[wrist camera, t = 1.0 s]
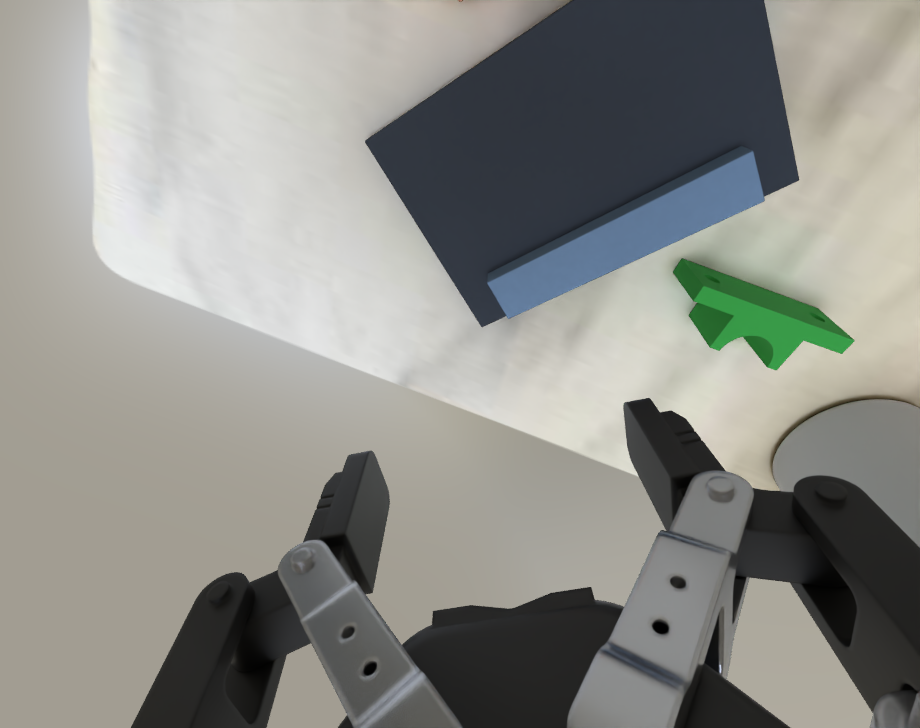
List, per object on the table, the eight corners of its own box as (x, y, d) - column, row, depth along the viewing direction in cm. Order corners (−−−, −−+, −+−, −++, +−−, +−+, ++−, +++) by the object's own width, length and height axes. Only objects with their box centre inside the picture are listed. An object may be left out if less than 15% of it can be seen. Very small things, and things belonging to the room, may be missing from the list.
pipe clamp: (652, 302, 36) (669, 333, 32) (681, 257, 34) (703, 285, 30) (783, 348, 37) (814, 384, 33) (818, 308, 35) (856, 341, 31)
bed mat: (368, 137, 31) (357, 146, 28) (731, -108, 23) (757, -124, 21) (482, 319, 37) (480, 338, 35) (790, 175, 30) (813, 187, 28)
